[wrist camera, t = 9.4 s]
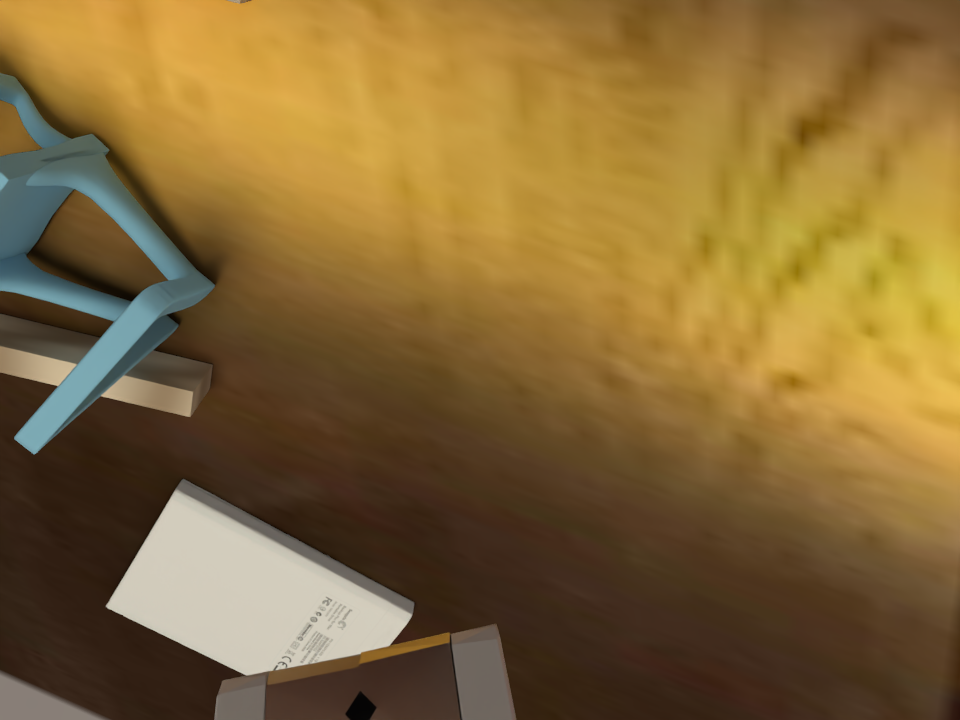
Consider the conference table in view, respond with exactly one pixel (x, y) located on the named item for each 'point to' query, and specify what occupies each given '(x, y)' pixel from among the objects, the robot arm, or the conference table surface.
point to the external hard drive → (251, 590)
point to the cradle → (60, 350)
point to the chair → (5, 267)
